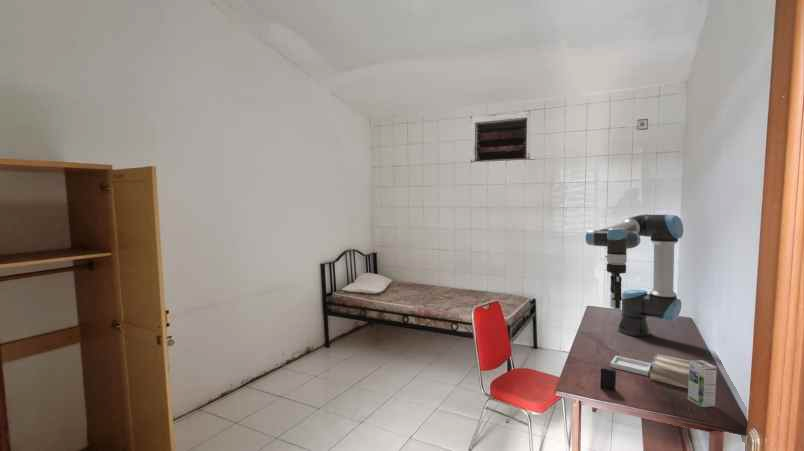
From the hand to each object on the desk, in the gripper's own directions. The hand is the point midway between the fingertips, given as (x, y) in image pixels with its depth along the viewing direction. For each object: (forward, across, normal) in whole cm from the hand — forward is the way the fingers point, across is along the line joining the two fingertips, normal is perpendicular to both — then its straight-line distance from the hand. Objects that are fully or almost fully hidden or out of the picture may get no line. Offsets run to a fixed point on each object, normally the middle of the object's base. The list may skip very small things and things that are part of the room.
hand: (615, 311), depth 171 cm
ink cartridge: (+24, +27, -4) cm, 37 cm away
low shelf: (+23, +7, +21) cm, 32 cm away
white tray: (+24, +2, +6) cm, 25 cm away
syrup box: (+24, +27, +25) cm, 44 cm away
